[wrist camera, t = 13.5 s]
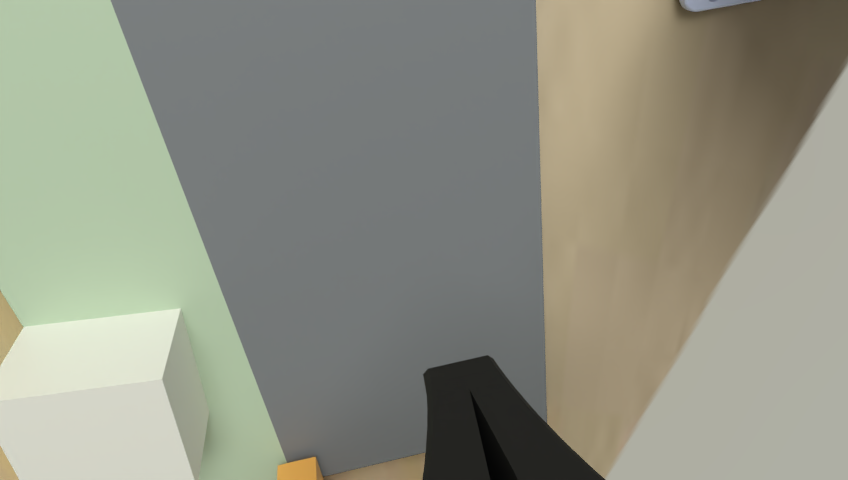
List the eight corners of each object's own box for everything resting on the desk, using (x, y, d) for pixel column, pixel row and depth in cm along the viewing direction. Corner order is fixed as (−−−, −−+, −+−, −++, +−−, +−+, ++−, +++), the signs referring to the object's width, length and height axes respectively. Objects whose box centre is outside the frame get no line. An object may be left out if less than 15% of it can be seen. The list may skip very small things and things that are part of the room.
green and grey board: (519, -148, 17) (531, -149, 16) (539, 406, 28) (546, 423, 27) (-177, -42, 15) (-204, -37, 14) (148, 499, 27) (143, 519, 26)
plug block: (180, 308, 21) (162, 379, 18) (209, 411, 23) (197, 488, 20) (23, 326, 20) (-23, 403, 17) (71, 430, 23) (38, 513, 20)
